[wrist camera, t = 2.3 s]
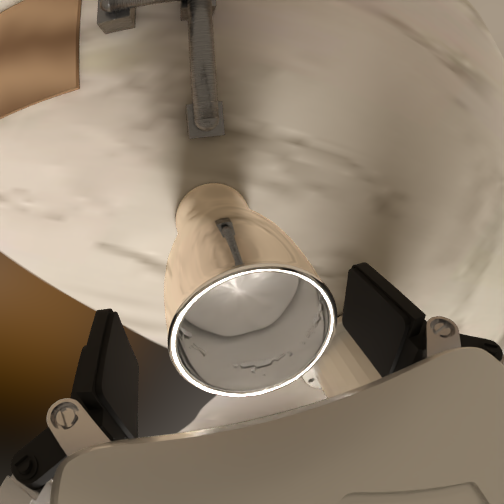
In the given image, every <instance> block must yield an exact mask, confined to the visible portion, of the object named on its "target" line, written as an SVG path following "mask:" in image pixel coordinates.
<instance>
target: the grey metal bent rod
mask: <svg viewBox="0 0 504 504" xmlns="http://www.w3.org/2000/svg"><path fill="white" fill-rule="evenodd" d="M172 1H181V21H182V20H188V34H189V54H190V71H191V86H192V100H193V104H189V105H186V114H187V126H188V136H189V139H193V138H201V137H209V136H219V135H225V132H224V119H223V106H222V101H218V98H217V84H216V69H215V54H214V38H213V20H212V17H213V13H214V10H215V7H216V0H98V14H97V24H98V26H99V27H100V28H101V29H102V30H103V32H104V33H105V34H108V33H112V32H117V31H121V30H125V29H130V28H135V7H139V6H145V5H151V4H157V3H164V2H172Z"/></svg>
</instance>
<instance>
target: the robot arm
mask: <svg viewBox="0 0 504 504" xmlns="http://www.w3.org/2000/svg"><path fill="white" fill-rule="evenodd" d="M425 316H426V315H425V314H424V313H423V312H422V311H421V310H420V309H419V308H418V307H417V306H416V305H414V304H413V303H412V302H411V301H410V300H409V299H408V298H407V297H405V296H404V295H403V294H402V293H401V292H400V291H399V290H398V289H396V288H395V287H394V286H393V285H392V284H391V283H390V282H388V281H387V280H386V279H385V278H384V277H383V276H381V275H380V274H379V273H378V272H377V271H376V270H374V269H373V268H372V267H371V266H370V265H369V264H367V263H360V264H355V265H353V266H352V268H351V269H350V270H349V272H348V280H347V287H346V295H345V302H344V309H343V315H342V316H340V317H338V318H337V325H336V330H335V334H334V337H333V339H332V341H331V344H330V346H329V347H328V349H327V351H326V352H325V354H324V355H323V356H322V358H321V359H320V360H319V361H318V362H317V363H316V364H315V365H314V366H313V367H312V368H311V369H310V370H309V371H308V372H307V373H305V374H304V375H303V376H301V377H302V378H303V380H304V382H305V383H306V384H308V385H309V386H311V387H314V388H318V389H323V391H324V393H325V394H326V396H327V399H325V400H322V401H318V402H315V403H312V404H309V405H306V406H302V407H299V408H296V409H292V410H289V411H285V412H282V413H278V414H274V415H270V416H266V417H262V418H258V419H254V420H249V421H245V422H240V423H236V424H231V425H226V426H220V427H215V428H209V429H203V430H197V431H190V432H183V433H176V434H168V435H159V436H150V437H140V438H138V375H139V374H138V373H139V366H138V362H137V359H136V357H135V355H134V352H133V350H132V348H131V345H130V343H129V341H128V338H127V336H126V334H125V331H124V328H123V326H122V323H121V321H120V318H119V315H118V313H117V312H113V311H112V309H103V310H97V311H96V314H95V318H94V321H93V324H92V328H91V331H90V335H89V338H88V342H87V345H86V346H84V347H83V349H82V352H81V356H80V359H79V363H78V367H77V371H76V375H75V380H74V384H73V389H72V393H71V398H70V399H69V398H66V399H61V400H59V401H57V402H55V403H54V404H53V405H52V406H51V408H50V409H49V411H48V414H47V423H48V426H49V427H48V428H47V429H45V430H44V431H43V432H42V433H40V434H39V435H38V436H37V437H36V438H34V439H33V440H32V441H30V442H29V443H28V444H27V445H25V446H24V447H23V448H22V449H21V450H19V451H18V452H17V453H16V454H15V455H14V457H13V459H12V463H11V469H12V473H13V475H12V476H11V477H9V476H7V477H6V479H5V480H4V482H3V484H2V485H1V487H0V504H504V355H503V353H502V349H501V348H500V346H499V345H498V344H497V343H495V342H494V341H491V340H488V339H483V338H478V337H473V336H468V335H463V334H459V330H458V327H457V325H456V324H455V323H454V322H453V321H452V320H450V319H448V318H445V317H441V316H436V317H432V318H430V319H429V320H428V321H426V320H424V319H425Z"/></svg>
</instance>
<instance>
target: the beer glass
mask: <svg viewBox="0 0 504 504" xmlns="http://www.w3.org/2000/svg"><path fill="white" fill-rule="evenodd" d="M176 229H177V232H178V235H177V237H176V239H175V241H174V243H173V245H172V248H171V251H170V254H169V256H168V260H167V265H166V272H165V279H164V306H165V317H166V325H167V333H168V350H169V355H170V358H171V360H172V362H173V364H174V366H175V368H176V369H177V370H178V372H179V373H180V374H181V375H182V376H183V377H184V378H185V379H186V380H187V381H188V382H190V383H191V384H193V385H194V386H196V387H198V388H200V389H202V390H204V391H207V392H210V393H213V394H217V395H222V396H230V397H246V396H254V395H260V394H264V393H268V392H271V391H274V390H277V389H279V388H282V387H284V386H286V385H288V384H290V383H292V382H294V381H295V380H297V379H298V378H300V377H301V376H303V375H304V374H305V373H307V372H308V371H309V370H310V369H311V368H312V367H313V366H314V365H315V364H316V363H317V362H318V361H319V360H320V359H321V358H322V356H323V355H324V354H325V352H326V351H327V349H328V347H329V346H330V344H331V341H332V339H333V337H334V334H335V330H336V325H337V308H336V303H335V300H334V298H333V295H332V293H331V292H330V290H329V288H328V287H327V286H326V284H325V283H324V282H323V281H322V280H321V279H320V277H319V276H318V274H317V273H316V271H315V270H314V268H313V266H312V265H311V264H310V262H309V261H308V259H307V258H306V256H305V255H304V254H303V252H302V251H301V250H300V249H299V247H298V246H297V245H296V244H295V243H294V241H293V240H292V239H291V238H290V237H289V236H288V235H287V234H286V233H285V232H284V231H283V230H282V229H281V228H280V227H278V226H277V225H276V224H275V223H274V222H272V221H271V220H269V219H268V218H266V217H264V216H263V215H261V214H259V213H257V212H255V211H253V210H251V209H249V208H248V205H247V203H246V201H245V199H244V198H243V197H242V195H241V194H240V193H239V192H238V191H236V190H235V189H234V188H232V187H230V186H227V185H224V184H220V183H208V184H203V185H200V186H198V187H196V188H194V189H192V190H191V191H190V192H189V193H187V194H186V195H185V197H184V198H183V199H182V200H181V202H180V204H179V206H178V209H177V212H176Z"/></svg>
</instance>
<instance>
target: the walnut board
mask: <svg viewBox="0 0 504 504" xmlns="http://www.w3.org/2000/svg"><path fill="white" fill-rule="evenodd" d="M81 1H82V0H24V1H22V2H20V3H18V4H16V5H14V6H12V7H11V8H9V9H7V10H5V11H3V12H2V13H0V119H2V118H4V117H6V116H8V115H10V114H12V113H15V112H17V111H19V110H22V109H24V108H27V107H29V106H31V105H34V104H37V103H39V102H42V101H45V100H47V99H50V98H53V97H56V96H59V95H62V94H65V93H68V92H71V91H74V90H78V89H80V86H79V28H80V12H81Z"/></svg>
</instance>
